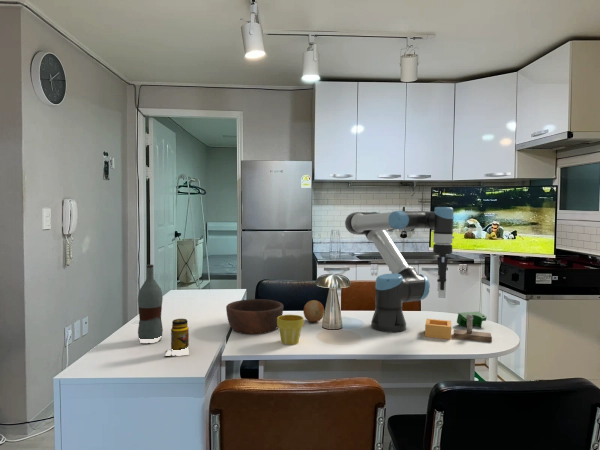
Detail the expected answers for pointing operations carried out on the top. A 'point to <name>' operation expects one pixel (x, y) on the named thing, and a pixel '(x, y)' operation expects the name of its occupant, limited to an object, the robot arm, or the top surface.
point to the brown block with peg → (472, 332)
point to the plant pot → (290, 328)
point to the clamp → (476, 320)
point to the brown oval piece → (313, 311)
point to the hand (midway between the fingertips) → (441, 294)
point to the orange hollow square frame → (438, 328)
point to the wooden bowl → (254, 315)
